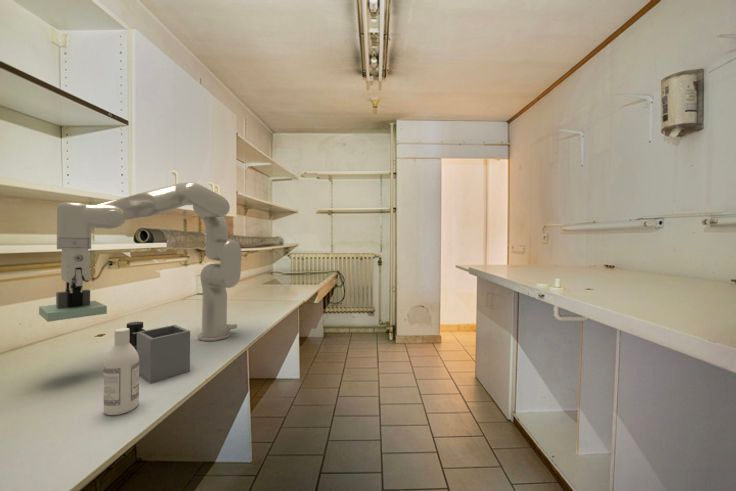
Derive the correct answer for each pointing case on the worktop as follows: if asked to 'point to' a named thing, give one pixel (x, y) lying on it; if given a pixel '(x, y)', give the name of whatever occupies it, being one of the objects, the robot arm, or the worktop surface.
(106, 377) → the bath foam
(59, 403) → the worktop surface
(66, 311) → the lid
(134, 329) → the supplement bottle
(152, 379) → the grey open storage bin
